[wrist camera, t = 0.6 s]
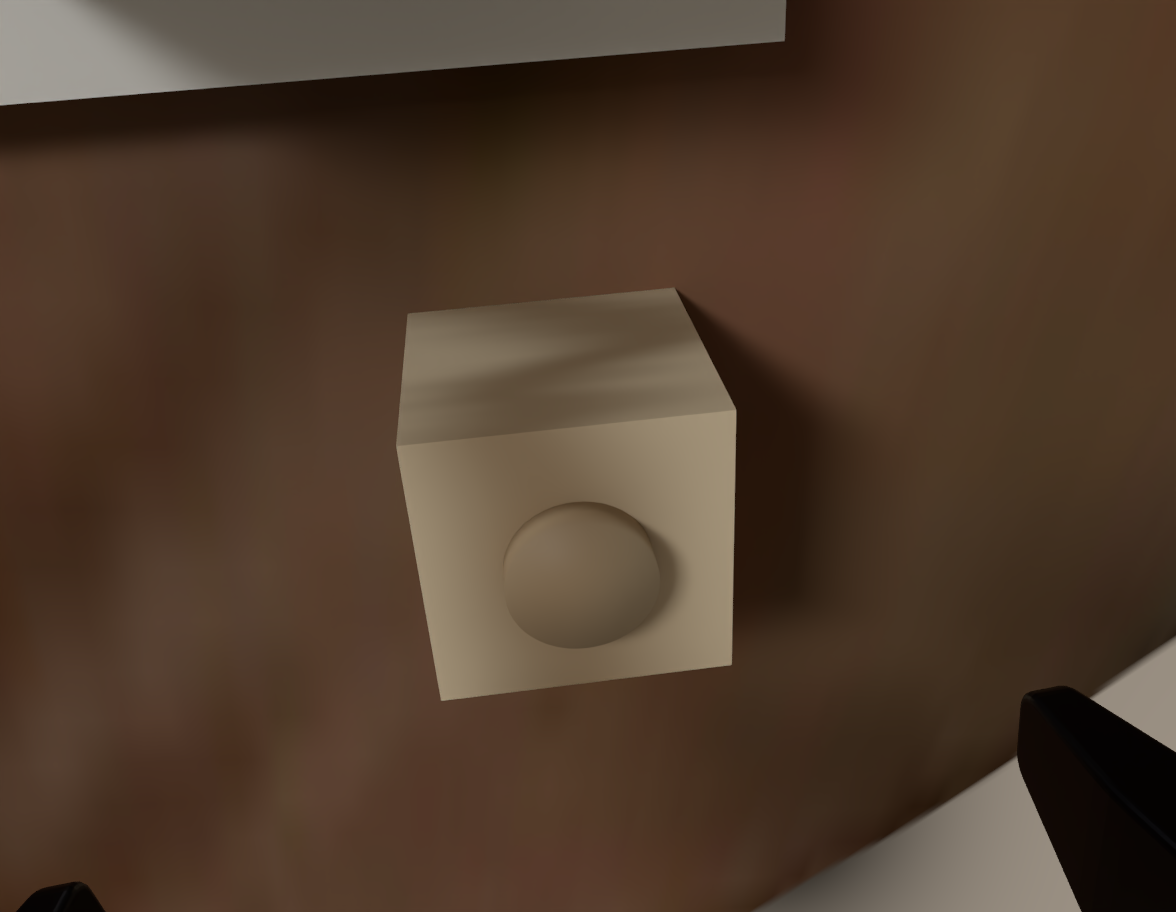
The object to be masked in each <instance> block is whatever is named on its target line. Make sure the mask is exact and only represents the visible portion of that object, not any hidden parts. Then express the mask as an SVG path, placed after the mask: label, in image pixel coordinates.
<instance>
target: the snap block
mask: <svg viewBox="0 0 1176 912" xmlns="http://www.w3.org/2000/svg"><path fill="white" fill-rule="evenodd" d="M396 448H397V453H398V459H399V465H400V470H401V476H402V482H403V487H404V493H405V499H406V504H407V510H408V516H409V521H410V527H411V533H412V538H413V544H414V550H415V555H416V561H417V567H418V572H419V578H420V584H421V589H422V595H423V601H424V606H425V612H426V617H427V623H428V629H429V634H430V640H431V646H432V651H433V657H434V663H435V668H436V674H437V680H438V685H439V691H440V697H441V701H444V700H452V699H460V698H468V697H476V696H485V695H493V694H501V693H509V692H517V691H525V690H533V689H541V688H549V687H557V686H565V685H573V684H582V683H590V682H598V681H606V680H614V679H622V678H630V677H638V676H646V675H654V674H662V673H670V672H678V671H687V670H695V669H703V668H711V667H719V666H727V665H732V622H733V568H734V513H735V458H736V408H735V406H734V404H733V402H732V400H731V398H730V396H729V394H728V392H727V390H726V388H725V386H724V384H723V383H722V381H721V379H720V377H719V375H718V373H717V371H716V369H715V367H714V365H713V363H712V361H711V359H710V357H709V355H708V353H707V351H706V349H705V347H704V345H703V343H702V341H701V339H700V337H699V335H698V333H697V331H696V329H695V327H694V325H693V323H692V321H691V319H690V317H689V315H688V313H687V311H686V309H685V308H684V306H683V304H682V302H681V300H680V298H679V296H678V294H677V292H676V290H675V288H667V289H657V290H646V291H636V292H626V293H616V294H605V295H595V296H585V297H575V298H564V299H554V300H544V301H534V302H523V303H513V304H503V305H493V306H482V307H472V308H462V309H452V310H441V311H431V312H421V313H411V314H408V318H407V330H406V341H405V352H404V364H403V375H402V386H401V398H400V409H399V420H398V432H397V443H396Z"/></svg>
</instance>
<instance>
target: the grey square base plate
mask: <svg viewBox="0 0 1176 912" xmlns="http://www.w3.org/2000/svg"><path fill="white" fill-rule="evenodd" d="M785 19H786V0H0V105H11V104H23V103H35V102H47V101H59V100H72V99H84V98H96V97H108V96H120V95H133V94H145V93H157V92H169V91H181V90H194V89H206V88H218V87H230V86H242V85H254V84H267V83H279V82H291V81H303V80H315V79H328V78H340V77H352V76H364V75H376V74H389V73H401V72H413V71H425V70H437V69H450V68H462V67H474V66H486V65H498V64H511V63H523V62H535V61H547V60H559V59H572V58H584V57H596V56H608V55H620V54H633V53H645V52H657V51H669V50H681V49H694V48H706V47H718V46H730V45H742V44H754V43H767V42H779V41H785Z"/></svg>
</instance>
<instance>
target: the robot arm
mask: <svg viewBox="0 0 1176 912" xmlns="http://www.w3.org/2000/svg"><path fill="white" fill-rule="evenodd" d="M1017 757H1018V763H1019V768H1020V771H1021V774H1022V777H1023V779H1024V782H1025V784H1026V786H1027V788H1028V791H1029V793H1030V795H1031V798H1032V800H1033V802H1034V804H1035V806H1036V809H1037V811H1038V813H1039V816H1040V818H1041V820H1042V823H1043V825H1044V827H1045V829H1046V832H1047V834H1048V836H1049V839H1050V841H1051V843H1052V845H1053V848H1054V850H1055V852H1056V855H1057V857H1058V859H1059V862H1060V864H1061V866H1062V868H1063V871H1064V873H1065V875H1066V877H1067V879H1068V882H1069V884H1070V886H1071V889H1072V891H1073V893H1074V896H1075V898H1076V900H1077V903H1078V905H1079V907H1080V909H1081V911H1082V912H1176V752H1174V751H1173V750H1171V749H1170V748H1168V747H1166V746H1165V745H1163V744H1162V743H1160V742H1158V741H1157V740H1155V739H1154V738H1152V737H1150V736H1149V735H1147V734H1146V733H1144V732H1142V731H1141V730H1139V729H1138V728H1136V727H1134V726H1133V725H1131V724H1130V723H1128V722H1126V721H1125V720H1123V719H1122V718H1120V717H1118V716H1117V715H1115V714H1113V713H1112V712H1110V711H1109V710H1107V709H1106V708H1104V707H1102V706H1101V705H1099V704H1098V703H1096V702H1094V701H1093V700H1091V699H1090V698H1088V697H1086V696H1085V695H1083V694H1082V693H1080V692H1078V691H1077V690H1075V689H1073V688H1070V687H1067V686H1056V687H1051V688H1046V689H1041V690H1036V691H1031V692H1028V693H1026V694H1025V695H1024V697H1023V699H1022V702H1021V708H1020V720H1019V732H1018V745H1017ZM16 912H105V910H104V909H103V907H102V906H101V904H100V903H99V901H98V900H97V898H96V897H95V895H94V894H93V892H92V890H91V889H90V888H89V887H88V885H86V884H84V883H82V882H70V883H65V884H60V885H55V886H50V887H46V888H42V889H40V890H38V891H36V892H35V893H33V894H32V895H31V896H30V897H29V898H28V899H27V900H26V901H25V902H24V903H23V904H22V906H21V907H20V908H19V909H18V910H17V911H16Z"/></svg>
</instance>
